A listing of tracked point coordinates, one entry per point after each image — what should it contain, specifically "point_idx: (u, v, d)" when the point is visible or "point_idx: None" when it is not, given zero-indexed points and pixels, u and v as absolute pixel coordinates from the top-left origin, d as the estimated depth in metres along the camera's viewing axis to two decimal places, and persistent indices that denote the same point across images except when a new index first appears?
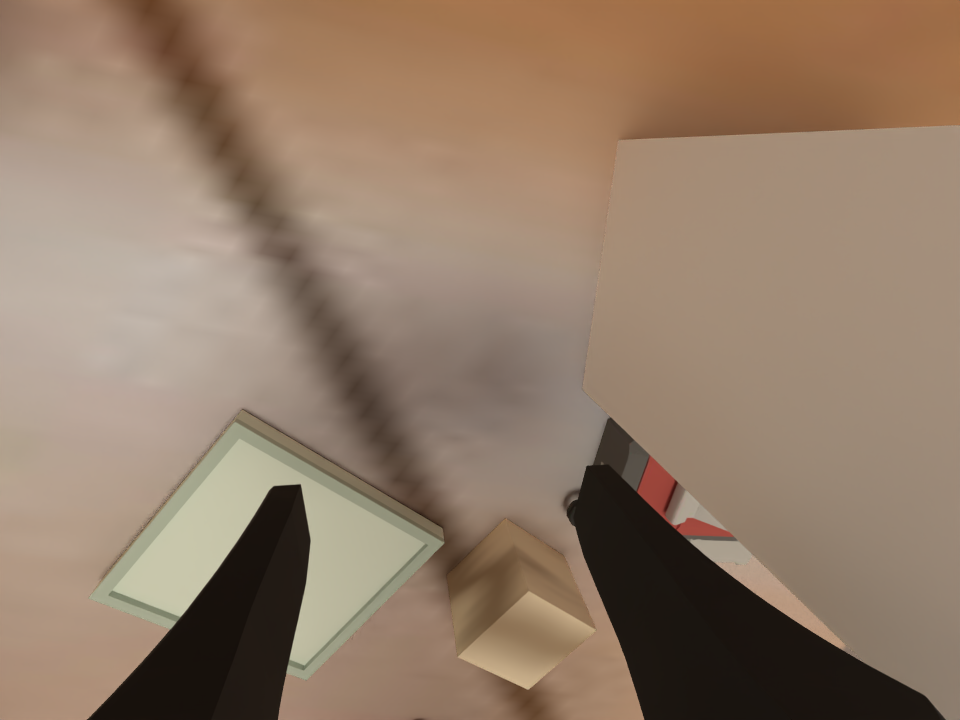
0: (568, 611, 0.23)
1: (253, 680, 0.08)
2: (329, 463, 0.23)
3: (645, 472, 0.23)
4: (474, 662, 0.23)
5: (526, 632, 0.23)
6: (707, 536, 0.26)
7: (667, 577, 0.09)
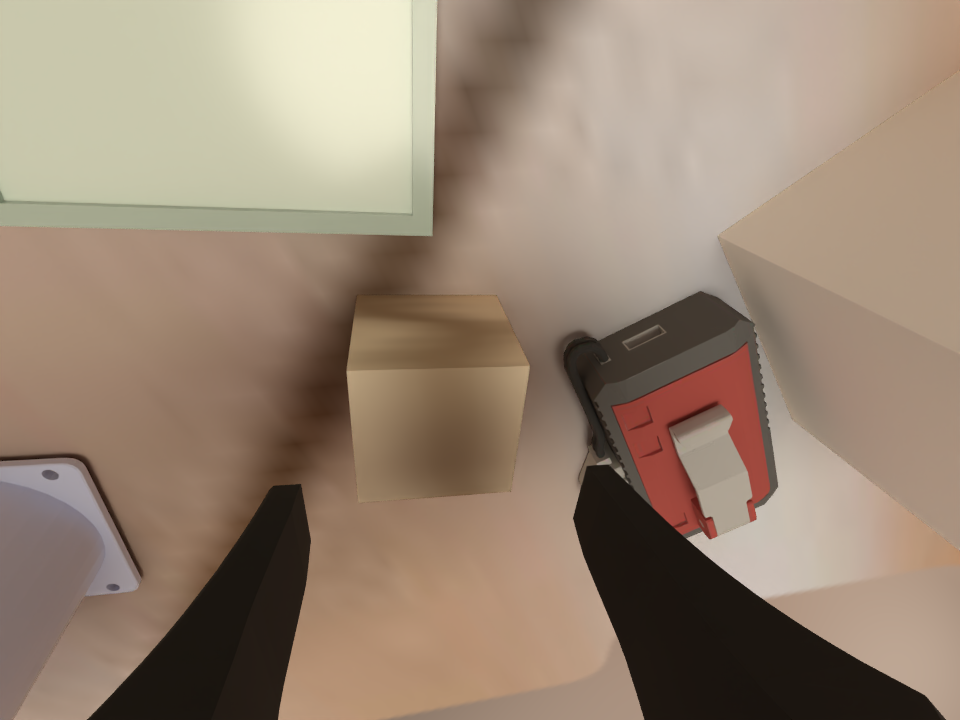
0: (516, 440, 0.15)
1: (253, 680, 0.08)
2: None
3: (713, 364, 0.17)
4: (354, 402, 0.13)
5: (455, 421, 0.14)
6: (643, 490, 0.21)
7: (667, 577, 0.09)
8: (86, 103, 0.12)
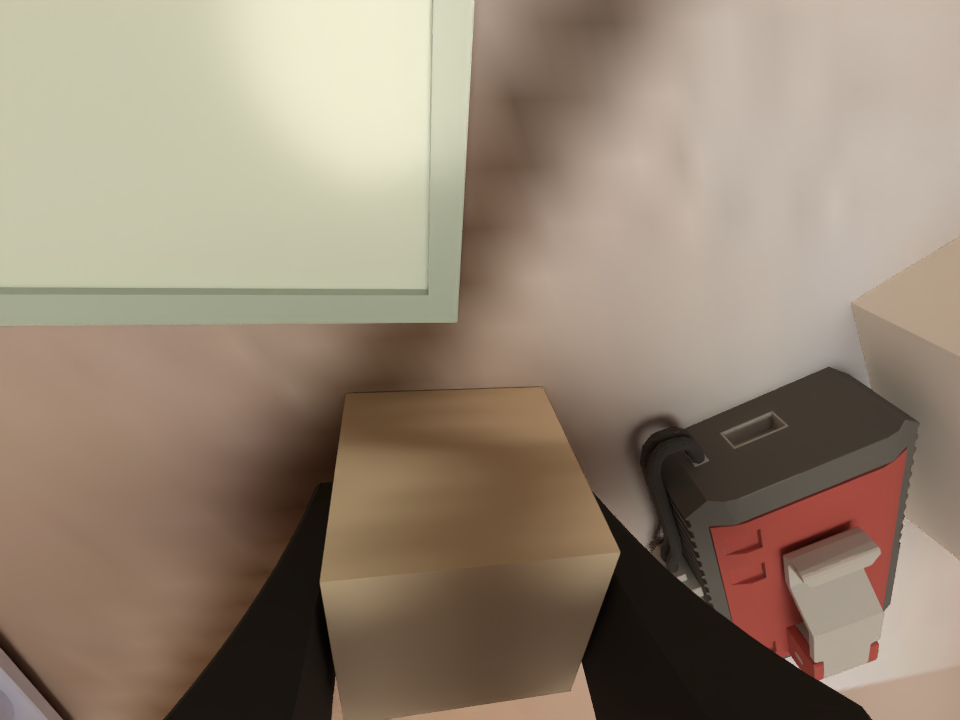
0: (584, 633, 0.10)
1: (318, 672, 0.08)
2: None
3: (859, 478, 0.12)
4: (334, 618, 0.08)
5: (496, 625, 0.09)
6: (728, 617, 0.16)
7: (616, 583, 0.09)
8: None
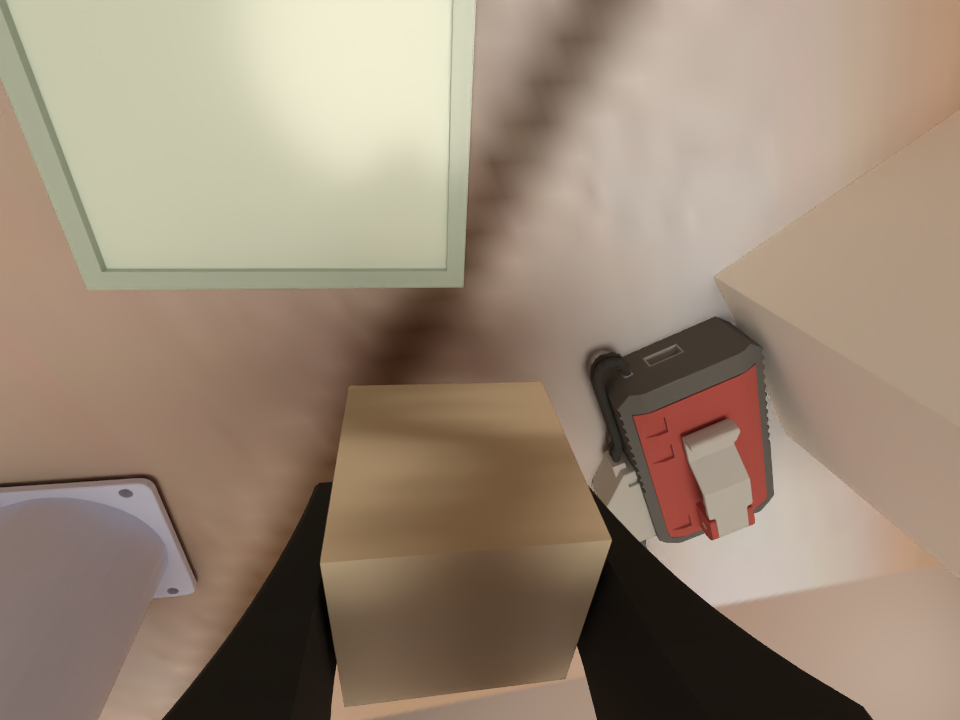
0: (579, 621, 0.10)
1: (316, 672, 0.08)
2: None
3: (725, 382, 0.19)
4: (333, 599, 0.08)
5: (491, 610, 0.09)
6: (654, 493, 0.23)
7: (617, 583, 0.09)
8: (178, 190, 0.14)
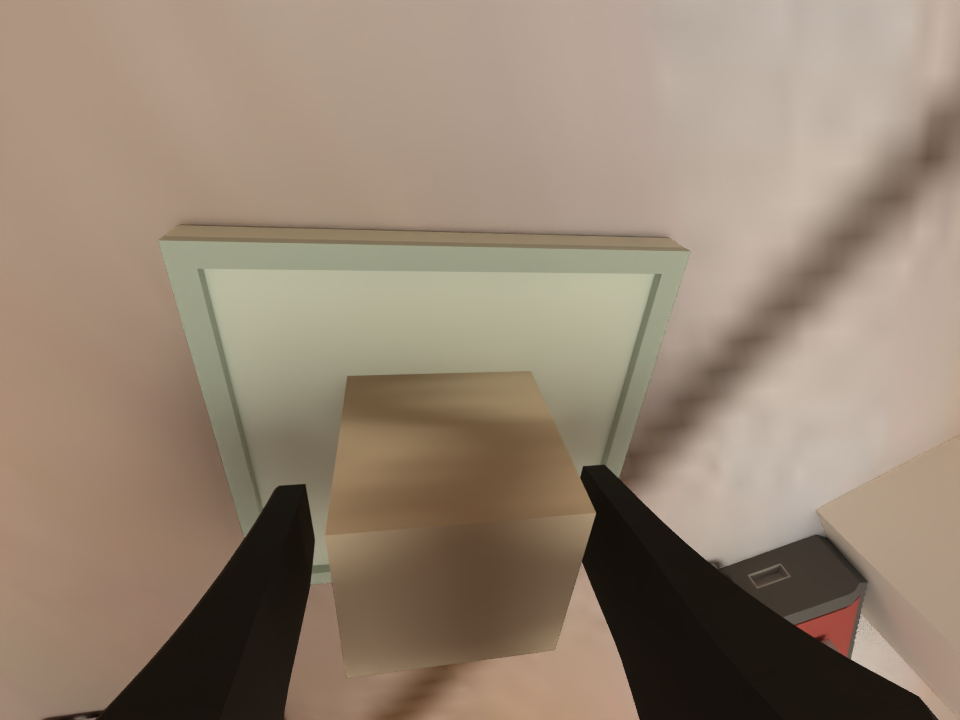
0: (566, 593, 0.11)
1: (260, 679, 0.08)
2: None
3: (831, 613, 0.20)
4: (338, 570, 0.09)
5: (484, 582, 0.10)
6: None
7: (662, 577, 0.09)
8: None
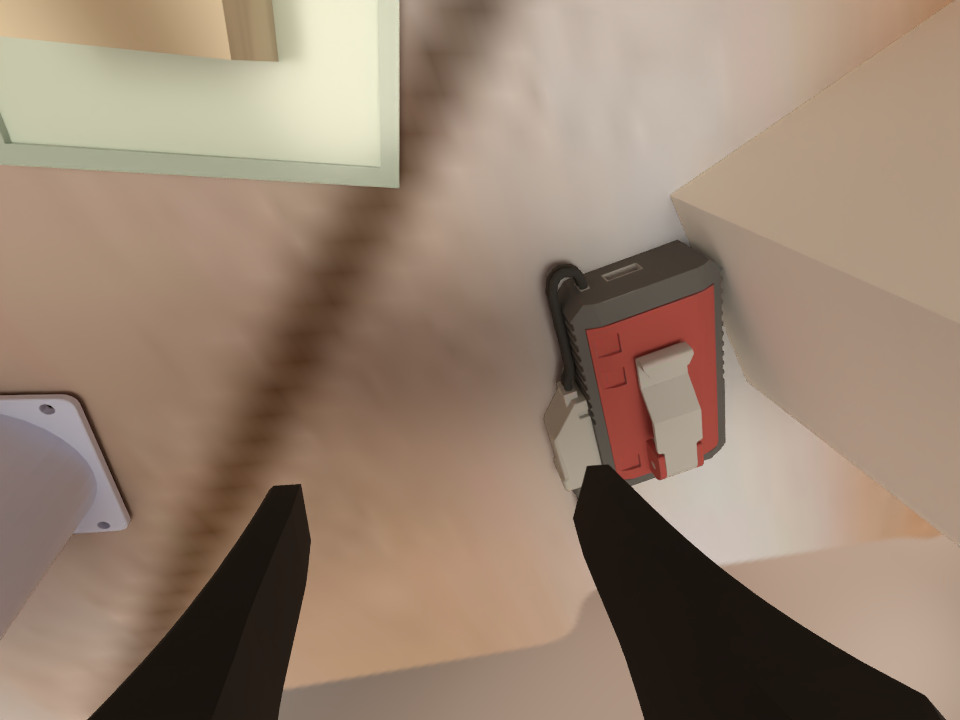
0: None
1: (253, 680, 0.08)
2: None
3: (682, 300, 0.19)
4: None
5: None
6: (604, 426, 0.22)
7: (667, 577, 0.09)
8: (87, 54, 0.13)
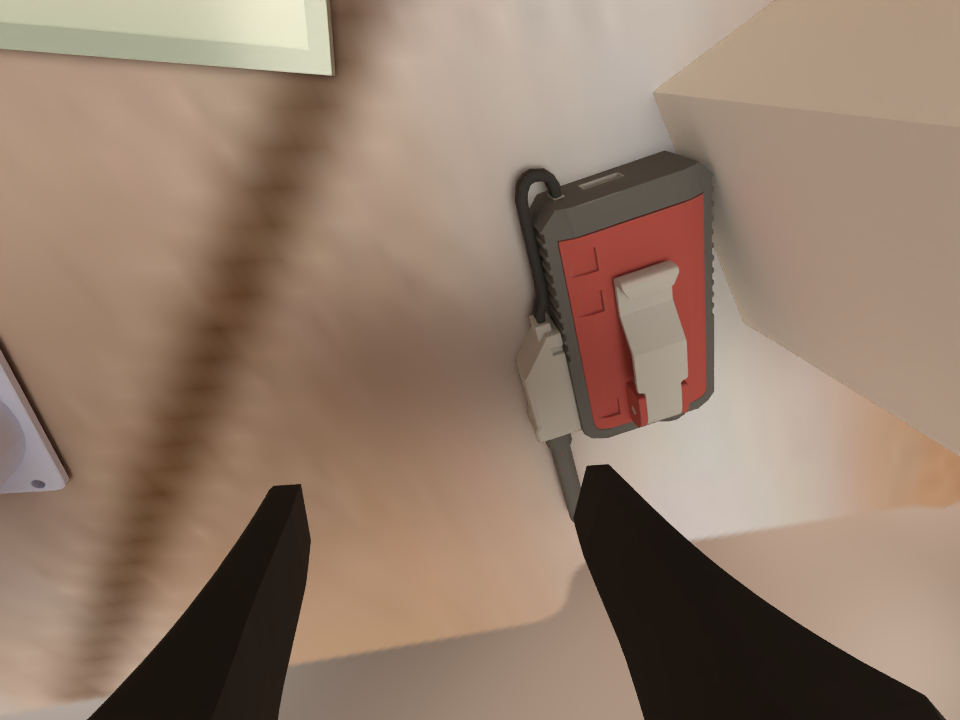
0: None
1: (253, 680, 0.08)
2: None
3: (667, 210, 0.16)
4: None
5: None
6: (580, 363, 0.20)
7: (667, 577, 0.09)
8: None
